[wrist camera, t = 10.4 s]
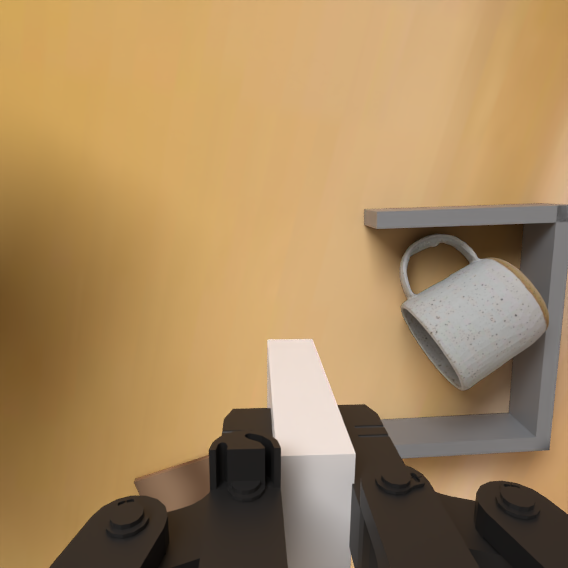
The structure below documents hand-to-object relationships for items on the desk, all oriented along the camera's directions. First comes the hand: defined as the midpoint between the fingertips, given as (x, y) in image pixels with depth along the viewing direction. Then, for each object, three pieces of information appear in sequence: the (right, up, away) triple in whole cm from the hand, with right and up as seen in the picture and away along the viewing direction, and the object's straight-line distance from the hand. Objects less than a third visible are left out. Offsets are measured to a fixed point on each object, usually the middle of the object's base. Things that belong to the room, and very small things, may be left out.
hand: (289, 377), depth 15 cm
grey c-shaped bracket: (+13, 0, +22) cm, 26 cm away
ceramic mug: (+13, +2, +22) cm, 26 cm away
